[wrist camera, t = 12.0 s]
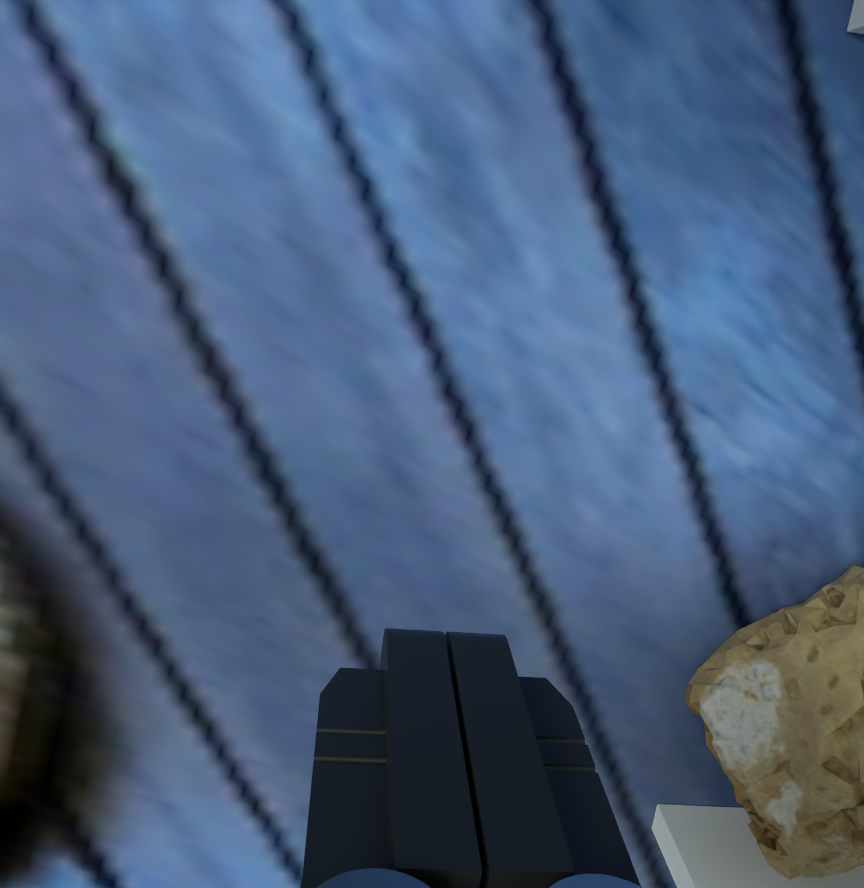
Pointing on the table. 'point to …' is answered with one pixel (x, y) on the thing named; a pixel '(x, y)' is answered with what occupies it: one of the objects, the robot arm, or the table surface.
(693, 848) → the box
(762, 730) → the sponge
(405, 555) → the table surface
